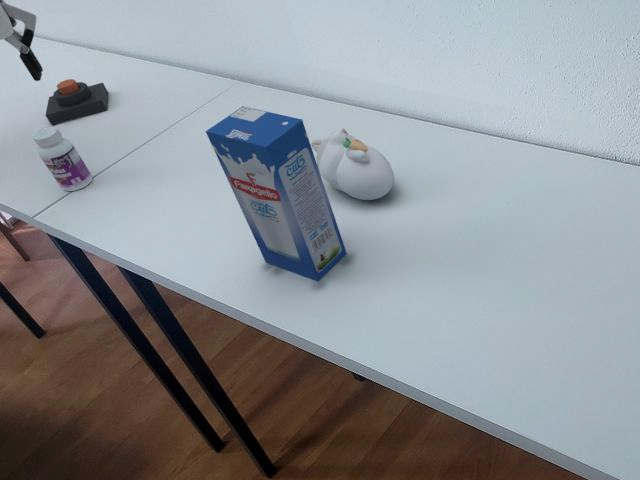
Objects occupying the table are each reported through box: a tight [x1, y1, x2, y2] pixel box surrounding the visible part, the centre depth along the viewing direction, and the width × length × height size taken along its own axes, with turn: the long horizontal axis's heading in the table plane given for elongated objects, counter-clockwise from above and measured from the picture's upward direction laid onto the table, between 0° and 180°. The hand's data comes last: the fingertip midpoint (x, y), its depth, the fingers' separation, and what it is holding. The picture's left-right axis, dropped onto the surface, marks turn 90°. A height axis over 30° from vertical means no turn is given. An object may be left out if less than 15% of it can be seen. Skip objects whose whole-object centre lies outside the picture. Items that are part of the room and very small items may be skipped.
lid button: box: [56, 78, 80, 95], centre depth 128 cm, size 4×4×2 cm
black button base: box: [45, 81, 109, 126], centre depth 130 cm, size 11×9×4 cm
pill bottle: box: [32, 126, 93, 192], centre depth 107 cm, size 5×5×10 cm
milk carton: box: [205, 105, 348, 282], centre depth 81 cm, size 10×6×20 cm, turn 58°
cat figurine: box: [310, 128, 395, 201], centre depth 96 cm, size 10×8×15 cm
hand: (12, 83), depth 97 cm, fingers open, 7 cm apart
